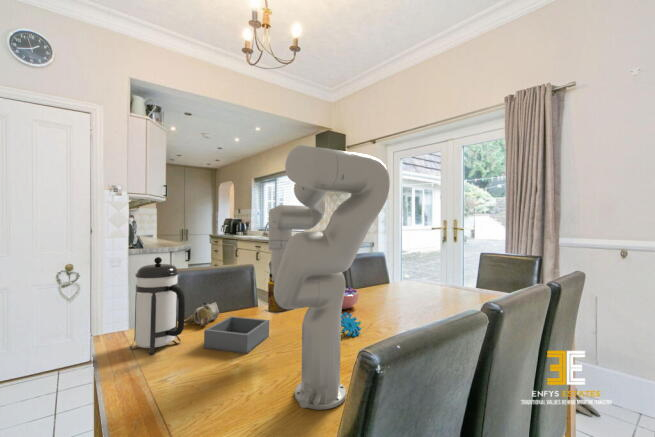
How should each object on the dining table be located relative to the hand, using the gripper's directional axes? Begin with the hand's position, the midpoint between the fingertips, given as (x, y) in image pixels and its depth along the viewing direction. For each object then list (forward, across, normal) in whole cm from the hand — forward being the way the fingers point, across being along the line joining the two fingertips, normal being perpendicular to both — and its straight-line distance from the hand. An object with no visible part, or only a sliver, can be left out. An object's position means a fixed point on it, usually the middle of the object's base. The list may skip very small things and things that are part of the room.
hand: (280, 300), depth 98 cm
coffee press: (+16, -15, -38) cm, 44 cm away
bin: (+16, -14, -13) cm, 25 cm away
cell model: (+16, -47, +36) cm, 62 cm away
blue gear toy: (+17, -12, +28) cm, 35 cm away
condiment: (+3, 0, 0) cm, 3 cm away
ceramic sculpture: (+15, -38, -27) cm, 49 cm away
